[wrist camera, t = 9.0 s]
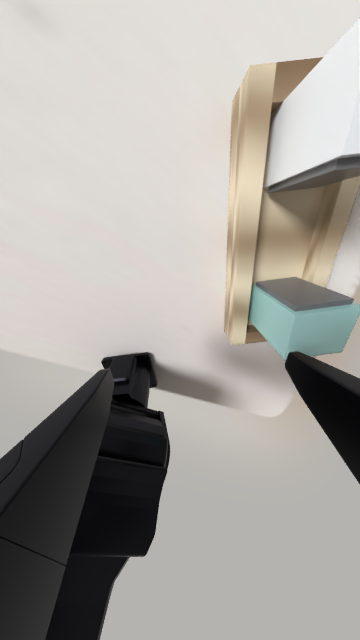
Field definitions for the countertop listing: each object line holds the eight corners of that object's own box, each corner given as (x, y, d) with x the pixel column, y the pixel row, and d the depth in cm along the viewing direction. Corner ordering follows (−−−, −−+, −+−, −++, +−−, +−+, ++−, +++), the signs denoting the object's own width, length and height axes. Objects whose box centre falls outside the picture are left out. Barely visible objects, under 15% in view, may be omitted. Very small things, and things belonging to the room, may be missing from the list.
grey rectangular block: (316, 188, 14) (438, 155, 7) (261, 194, 14) (338, 167, 7) (335, 108, 11) (528, -30, 5) (270, 115, 11) (388, -14, 5)
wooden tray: (291, 322, 22) (309, 335, 19) (224, 331, 22) (232, 345, 19) (354, 87, 12) (406, 47, 9) (232, 101, 12) (250, 65, 9)
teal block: (286, 312, 19) (341, 352, 13) (247, 318, 19) (284, 359, 13) (294, 274, 17) (365, 301, 11) (250, 280, 17) (297, 310, 11)
